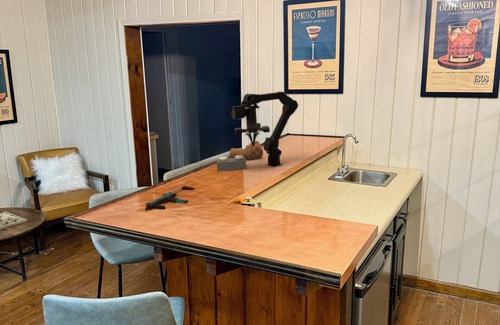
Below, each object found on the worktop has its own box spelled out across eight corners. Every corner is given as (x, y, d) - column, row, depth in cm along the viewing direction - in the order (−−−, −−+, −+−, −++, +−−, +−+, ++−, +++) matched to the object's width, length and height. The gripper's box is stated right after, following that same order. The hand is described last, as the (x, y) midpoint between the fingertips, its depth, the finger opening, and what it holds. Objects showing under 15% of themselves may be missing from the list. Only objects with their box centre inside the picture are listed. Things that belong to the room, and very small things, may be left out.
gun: (168, 210, 167) (138, 205, 173) (169, 215, 168) (139, 210, 174) (207, 188, 195) (180, 184, 201) (207, 192, 196) (180, 189, 202)
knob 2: (243, 165, 235) (243, 154, 233) (244, 167, 230) (243, 156, 229) (235, 166, 234) (234, 155, 233) (235, 168, 230) (235, 157, 228)
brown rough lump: (255, 168, 245) (269, 155, 254) (251, 152, 240) (265, 140, 249) (231, 164, 256) (245, 152, 266) (226, 149, 251) (241, 137, 261)
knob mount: (245, 165, 236) (245, 157, 235) (246, 169, 229) (245, 160, 227) (218, 167, 236) (217, 159, 235) (217, 171, 228) (216, 162, 227)
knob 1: (228, 167, 234) (227, 156, 233) (228, 169, 230) (227, 157, 228) (219, 167, 234) (219, 156, 233) (219, 169, 230) (218, 158, 228)
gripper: (234, 120, 213) (236, 150, 217) (270, 118, 214) (271, 147, 218) (233, 117, 224) (235, 146, 228) (267, 115, 225) (269, 143, 229)
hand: (253, 145), depth 225 cm, fingers closed
